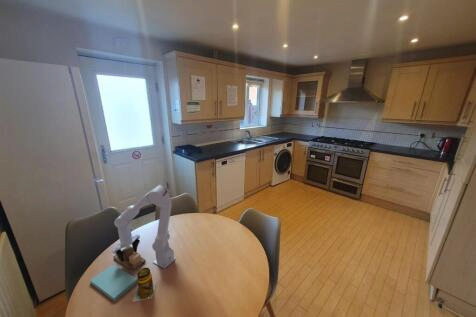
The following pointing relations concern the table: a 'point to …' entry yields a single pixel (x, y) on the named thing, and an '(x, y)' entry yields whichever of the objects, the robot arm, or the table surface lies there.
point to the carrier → (126, 254)
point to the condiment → (144, 285)
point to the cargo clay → (135, 258)
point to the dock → (113, 282)
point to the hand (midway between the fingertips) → (128, 256)
